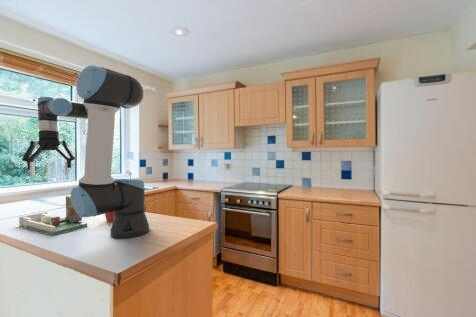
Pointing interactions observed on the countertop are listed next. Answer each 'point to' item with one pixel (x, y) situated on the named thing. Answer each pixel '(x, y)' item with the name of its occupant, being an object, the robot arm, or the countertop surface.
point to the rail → (79, 223)
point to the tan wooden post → (67, 214)
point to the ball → (46, 219)
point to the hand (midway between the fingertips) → (50, 175)
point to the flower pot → (110, 216)
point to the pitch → (36, 224)
